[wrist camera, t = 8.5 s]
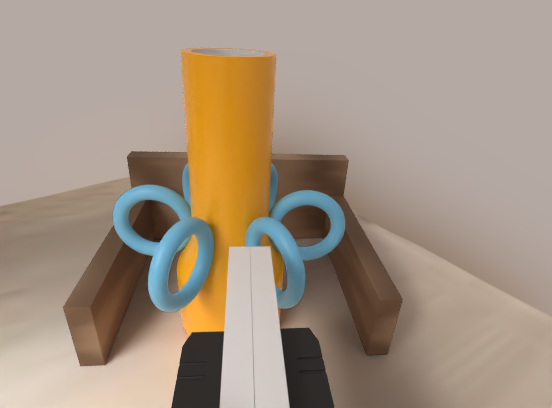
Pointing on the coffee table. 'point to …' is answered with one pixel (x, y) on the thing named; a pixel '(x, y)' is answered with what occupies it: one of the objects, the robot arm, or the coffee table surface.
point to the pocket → (299, 222)
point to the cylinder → (225, 192)
